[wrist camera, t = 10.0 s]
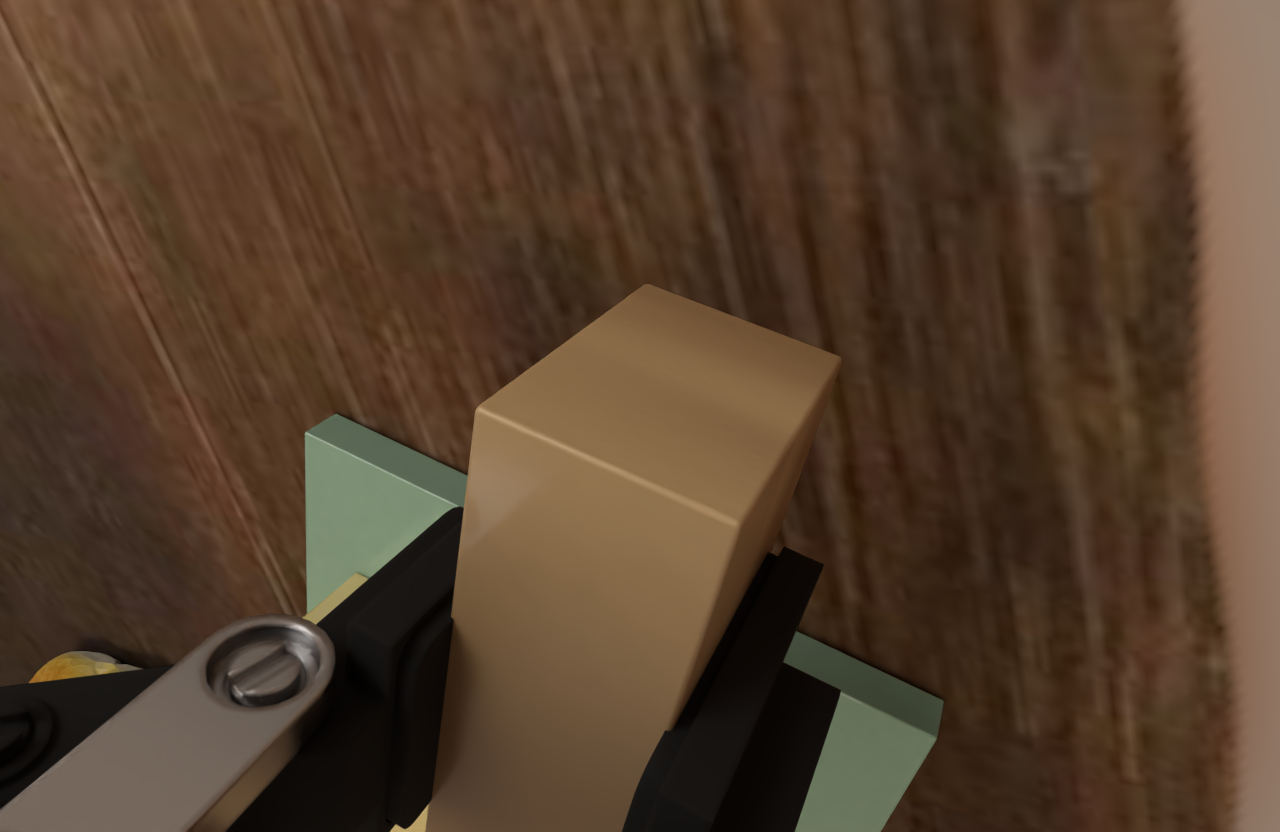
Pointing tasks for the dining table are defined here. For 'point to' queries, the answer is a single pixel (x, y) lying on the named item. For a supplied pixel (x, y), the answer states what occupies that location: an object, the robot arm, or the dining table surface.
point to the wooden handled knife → (611, 553)
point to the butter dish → (426, 489)
